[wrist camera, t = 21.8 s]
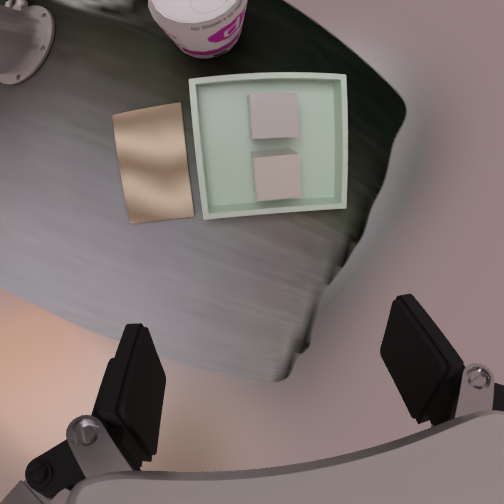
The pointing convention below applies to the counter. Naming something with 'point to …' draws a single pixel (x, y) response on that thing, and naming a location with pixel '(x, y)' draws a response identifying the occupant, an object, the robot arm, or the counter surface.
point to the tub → (269, 142)
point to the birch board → (154, 163)
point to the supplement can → (200, 24)
